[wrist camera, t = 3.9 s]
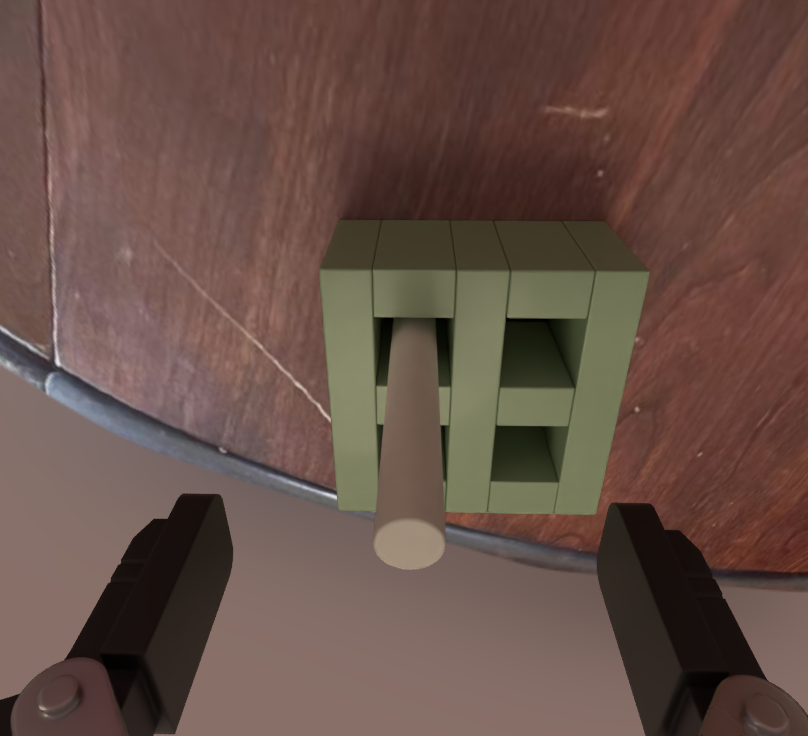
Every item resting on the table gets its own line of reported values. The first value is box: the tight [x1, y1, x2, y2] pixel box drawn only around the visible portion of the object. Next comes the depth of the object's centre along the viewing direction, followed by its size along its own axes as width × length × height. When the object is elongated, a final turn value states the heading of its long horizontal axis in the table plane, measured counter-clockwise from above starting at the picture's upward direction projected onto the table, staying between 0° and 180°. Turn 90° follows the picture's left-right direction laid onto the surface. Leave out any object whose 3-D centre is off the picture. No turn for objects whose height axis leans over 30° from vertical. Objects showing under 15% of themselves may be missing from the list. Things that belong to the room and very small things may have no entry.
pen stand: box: [319, 220, 650, 515], centre depth 22 cm, size 10×10×5 cm
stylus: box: [373, 317, 446, 570], centre depth 18 cm, size 2×2×13 cm
